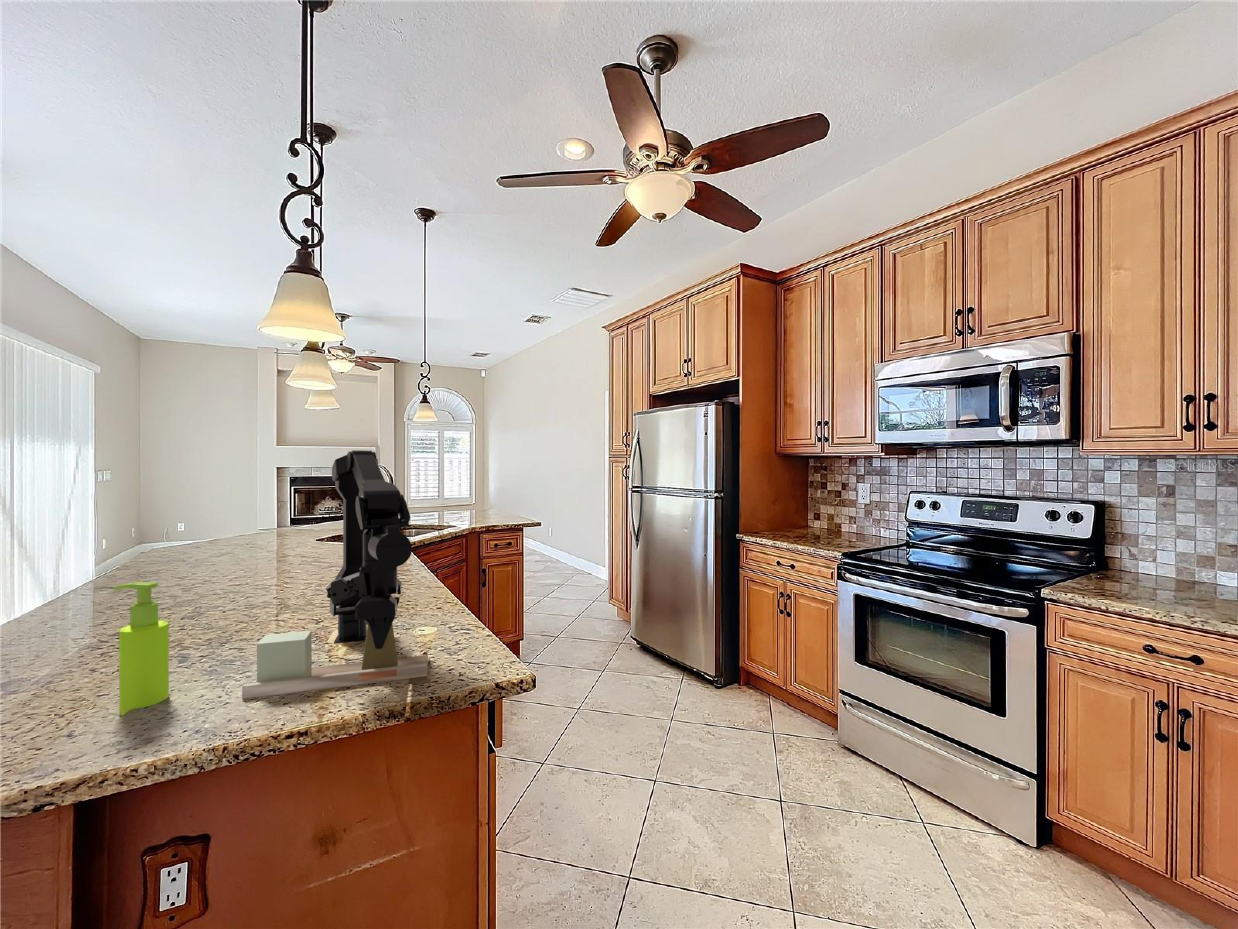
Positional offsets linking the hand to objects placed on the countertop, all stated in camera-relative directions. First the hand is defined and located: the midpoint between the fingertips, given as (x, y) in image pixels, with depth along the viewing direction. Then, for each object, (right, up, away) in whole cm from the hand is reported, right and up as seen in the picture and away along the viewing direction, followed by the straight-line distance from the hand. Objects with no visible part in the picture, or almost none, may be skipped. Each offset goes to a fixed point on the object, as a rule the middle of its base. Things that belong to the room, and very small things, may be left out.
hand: (380, 644), depth 96 cm
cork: (0, -4, 0) cm, 4 cm away
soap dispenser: (-33, -7, -12) cm, 36 cm away
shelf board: (-6, -6, -1) cm, 9 cm away
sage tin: (-14, -5, -5) cm, 16 cm away
